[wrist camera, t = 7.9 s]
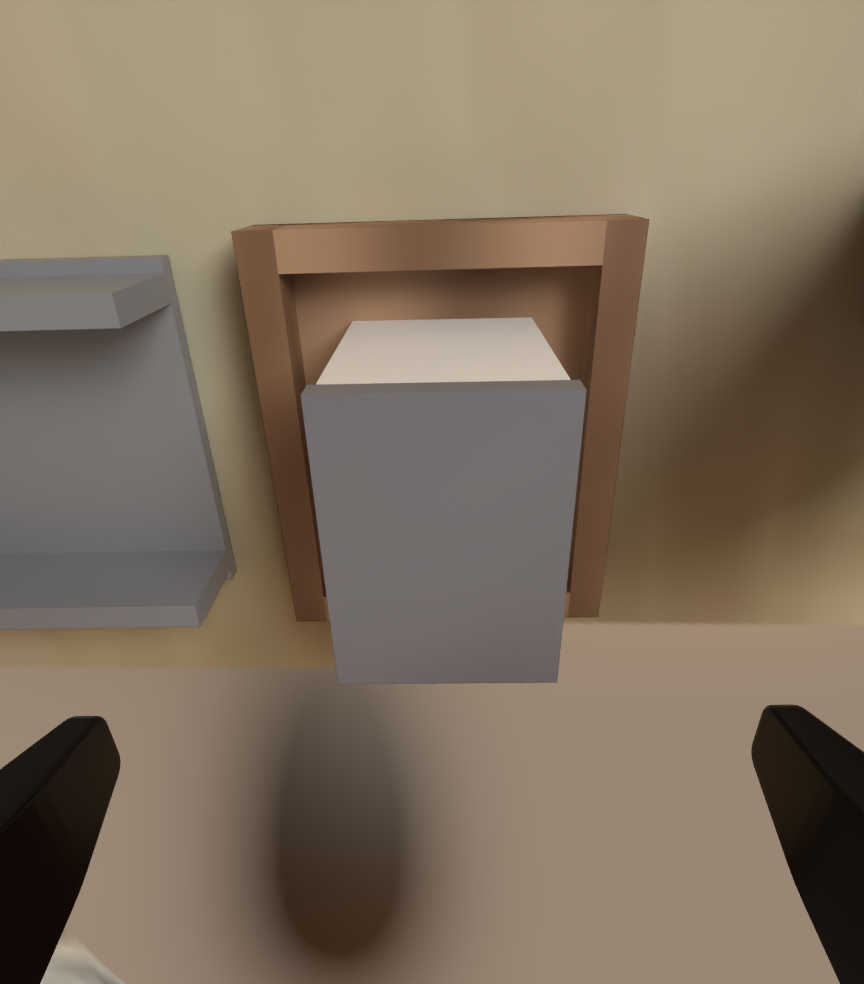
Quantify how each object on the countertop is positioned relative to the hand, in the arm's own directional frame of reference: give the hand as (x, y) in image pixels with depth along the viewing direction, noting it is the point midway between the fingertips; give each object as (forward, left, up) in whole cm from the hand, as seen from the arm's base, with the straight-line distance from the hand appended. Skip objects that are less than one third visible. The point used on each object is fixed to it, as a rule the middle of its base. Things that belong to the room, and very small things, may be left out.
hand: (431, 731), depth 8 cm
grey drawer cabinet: (+13, 0, -12) cm, 18 cm away
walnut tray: (0, 0, -12) cm, 12 cm away
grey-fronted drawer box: (0, 0, -11) cm, 11 cm away
